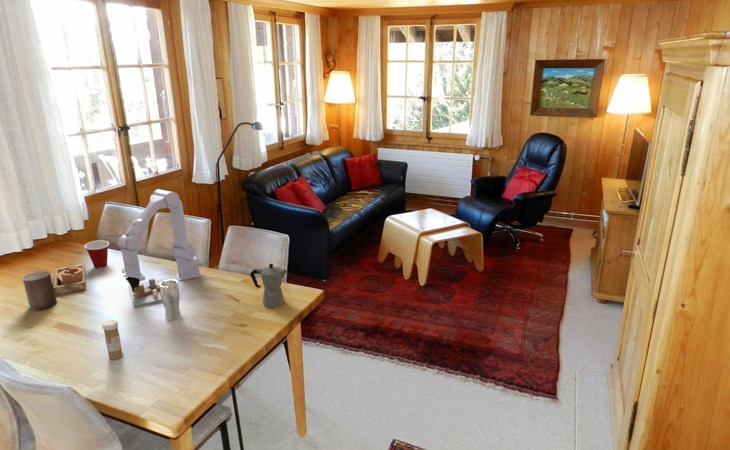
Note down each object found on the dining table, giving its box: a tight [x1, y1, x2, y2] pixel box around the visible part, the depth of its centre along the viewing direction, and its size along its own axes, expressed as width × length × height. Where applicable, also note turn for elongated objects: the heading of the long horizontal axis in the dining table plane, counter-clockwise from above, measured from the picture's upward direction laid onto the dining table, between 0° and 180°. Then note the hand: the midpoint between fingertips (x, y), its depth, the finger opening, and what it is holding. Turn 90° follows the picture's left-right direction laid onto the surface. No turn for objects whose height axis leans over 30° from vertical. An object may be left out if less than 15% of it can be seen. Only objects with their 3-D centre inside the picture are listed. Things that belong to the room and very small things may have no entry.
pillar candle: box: [22, 270, 58, 311], centre depth 203 cm, size 10×10×15 cm
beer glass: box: [160, 279, 182, 322], centre depth 193 cm, size 7×7×15 cm
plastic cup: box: [84, 239, 110, 269], centre depth 242 cm, size 11×11×12 cm
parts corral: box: [53, 264, 87, 296], centre depth 226 cm, size 12×23×4 cm, turn 29°
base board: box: [128, 276, 173, 309], centre depth 215 cm, size 18×22×6 cm
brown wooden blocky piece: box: [133, 284, 160, 298], centre depth 212 cm, size 11×5×4 cm, turn 151°
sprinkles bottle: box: [101, 319, 124, 361], centre depth 167 cm, size 5×5×14 cm
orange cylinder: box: [57, 267, 83, 286], centre depth 225 cm, size 18×8×7 cm, turn 46°
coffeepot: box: [249, 263, 288, 309], centre depth 204 cm, size 15×9×18 cm, turn 92°
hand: (136, 291), depth 209 cm, fingers closed, pressing on brown wooden blocky piece
